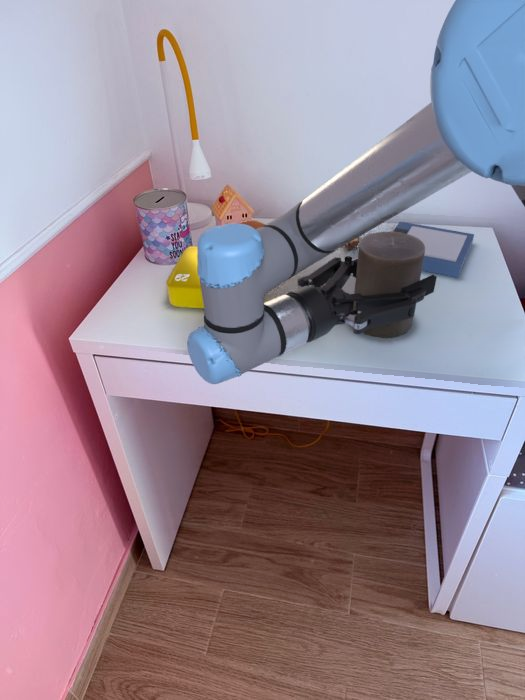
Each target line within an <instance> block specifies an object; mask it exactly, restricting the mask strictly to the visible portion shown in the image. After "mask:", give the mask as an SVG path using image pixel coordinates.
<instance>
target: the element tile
mask: <svg viewBox="0 0 525 700" xmlns="http://www.w3.org/2000/svg"><path fill="white" fill-rule="evenodd" d="M197 254H198V251H197V245H196V246H195V245H193V246H192V245H191V246H188V247H187V248H185V249H184V250H183V251H182V253H181V255H180V257H179V258H178V260H177V262H176V263H175V266H174V267H173V269H172V271H171V272H170V274H169V276H168V278H167V279H166V283H165V284H166V289H167V296H168V301H169V303H170V305H172V306H173V307H177V308H190V309H202V310H204V304H203V298H202V292H201V285H200V279H199V276H198V269H197V267H198V260H197Z"/></svg>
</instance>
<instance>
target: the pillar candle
mask: <svg viewBox="0 0 525 700" xmlns="http://www.w3.org/2000/svg"><path fill="white" fill-rule="evenodd" d="M357 252H358V253H357V259H358V262H357V272H356V278H355V283H354V293H353V294H357V293H360V294H361V295H362V296H368V295H380V294H392V293H402V288H405V287H407V286H409V285H411V284H413V283H416V282H418V281H420V280H421V277H422V271H423V270H422V265H423V259H424V254H425V245H424V243H423V242H422V241H421V240H420V239H419V238H417V237H415V236H413V235H409V234H404V233H400V232H393V231H377V232H370V233H367V234H366V235H365V236H363V237H362V238H361V239H360V241H359V243H358V251H357ZM355 307H356V301H354V308H353V311H354V310H355ZM413 323H414V317H413V318H410V319H406V320H402V321H398V322H394V323H390V324H386V325H382V326H378V327H374V328H370V329H368V330H366V331H364V332H363V333H362V334H364V335H367V336H369V337H374V338H381V339H394V338H399V337H401V336H404V335H405V334H407V333H408V332H409V331H410V330H411V329H412V326H413Z"/></svg>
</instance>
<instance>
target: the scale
mask: <svg viewBox="0 0 525 700" xmlns="http://www.w3.org/2000/svg"><path fill="white" fill-rule="evenodd" d="M392 232H400V233H404V234H409V235H413V236H415V237H417V238H419V239H420V240H421V241H422V242H423V243H424V245H425V254H424V259H423V265H422V271H423V272H428V273H432V274H433V273H434V274H437V275H443V276H449V277H453V278H456V279H457V278H459V276H460V274H461V272H462V270H463V267H464V265H465V262H466V260H467V258H468V255H469V253H470V251H471V248H472V246H473V241H474V237H475V234H474V233H470V232H464V231H463V232H462V231H457V230H452V229H446V228H441V227H436V226H428V225H422V224H417V223H411V222H405V221H399V222H398V223H397V225H396V226H395V228H394V229H393V230H392Z"/></svg>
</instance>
